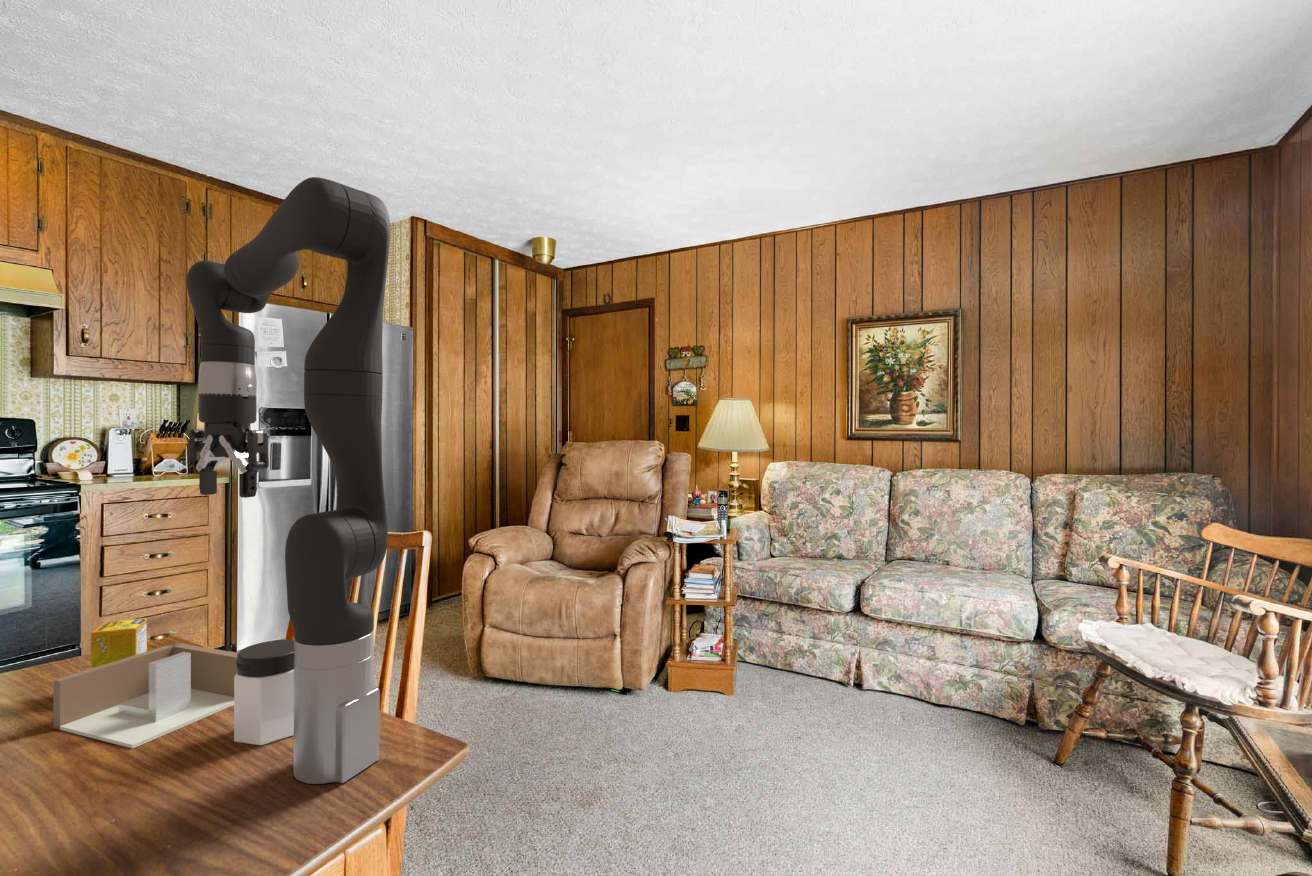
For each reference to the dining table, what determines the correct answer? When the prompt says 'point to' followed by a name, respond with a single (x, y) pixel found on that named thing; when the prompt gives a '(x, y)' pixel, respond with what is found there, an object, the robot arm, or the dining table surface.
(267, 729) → the jar
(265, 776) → the dining table surface
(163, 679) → the bracket
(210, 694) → the tray
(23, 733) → the dining table surface
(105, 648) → the supplement box
